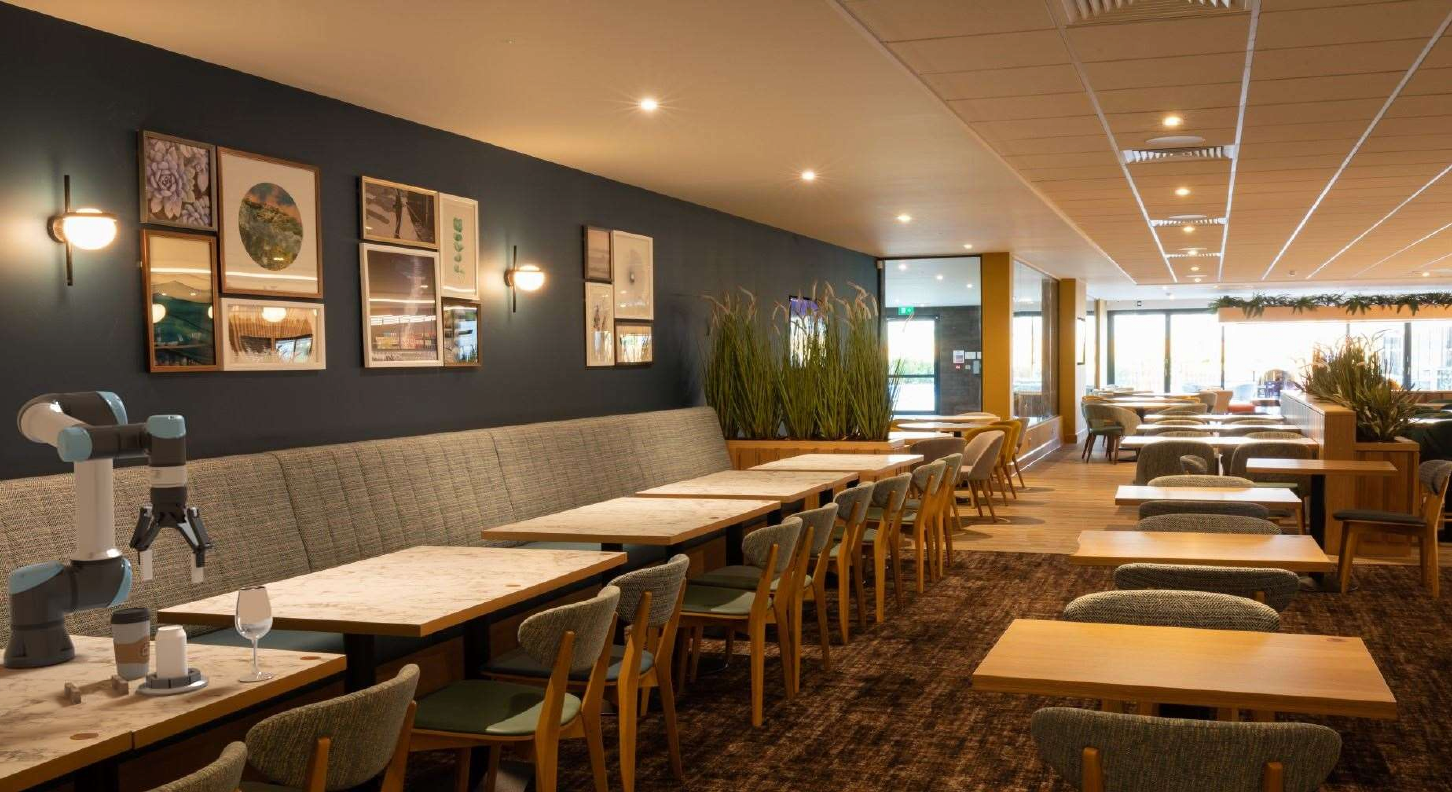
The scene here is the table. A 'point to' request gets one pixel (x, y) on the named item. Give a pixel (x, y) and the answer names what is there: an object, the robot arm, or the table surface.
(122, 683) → the walnut cradle
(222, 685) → the table surface
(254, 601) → the wineglass
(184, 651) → the beverage can
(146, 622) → the coffee cup
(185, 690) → the hub collar
